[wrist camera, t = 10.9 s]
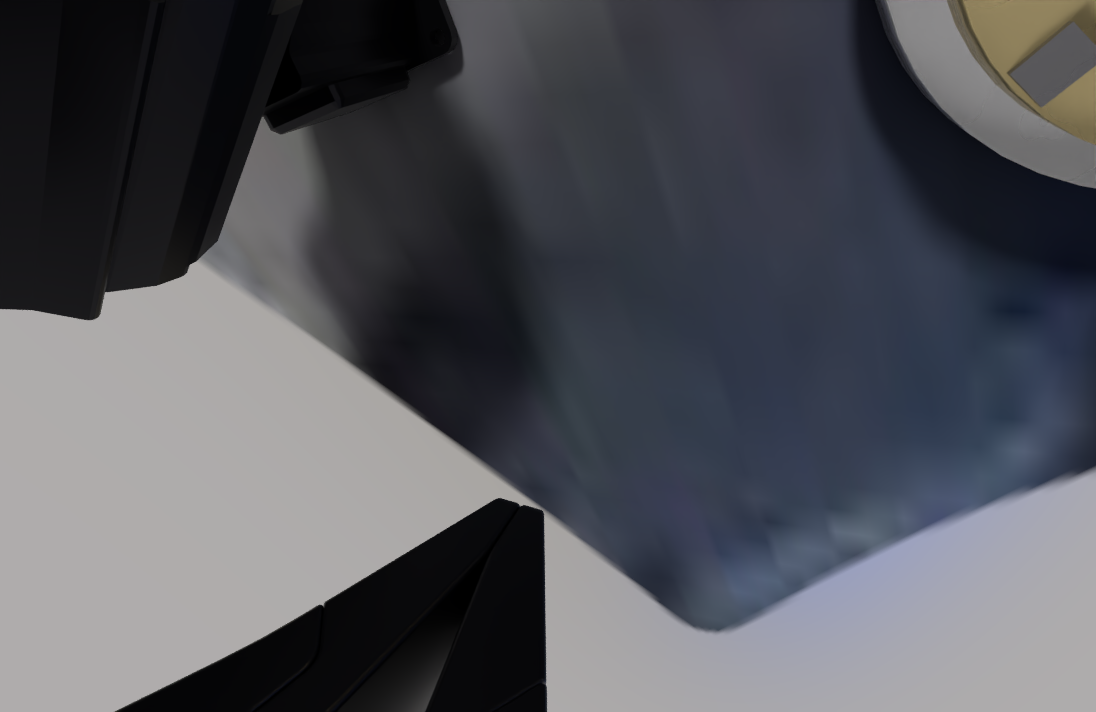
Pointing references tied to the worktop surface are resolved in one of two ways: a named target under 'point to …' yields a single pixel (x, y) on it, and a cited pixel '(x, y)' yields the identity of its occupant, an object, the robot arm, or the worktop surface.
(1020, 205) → the worktop surface
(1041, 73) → the gold dial with handle
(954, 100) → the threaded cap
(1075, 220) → the worktop surface
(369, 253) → the worktop surface
